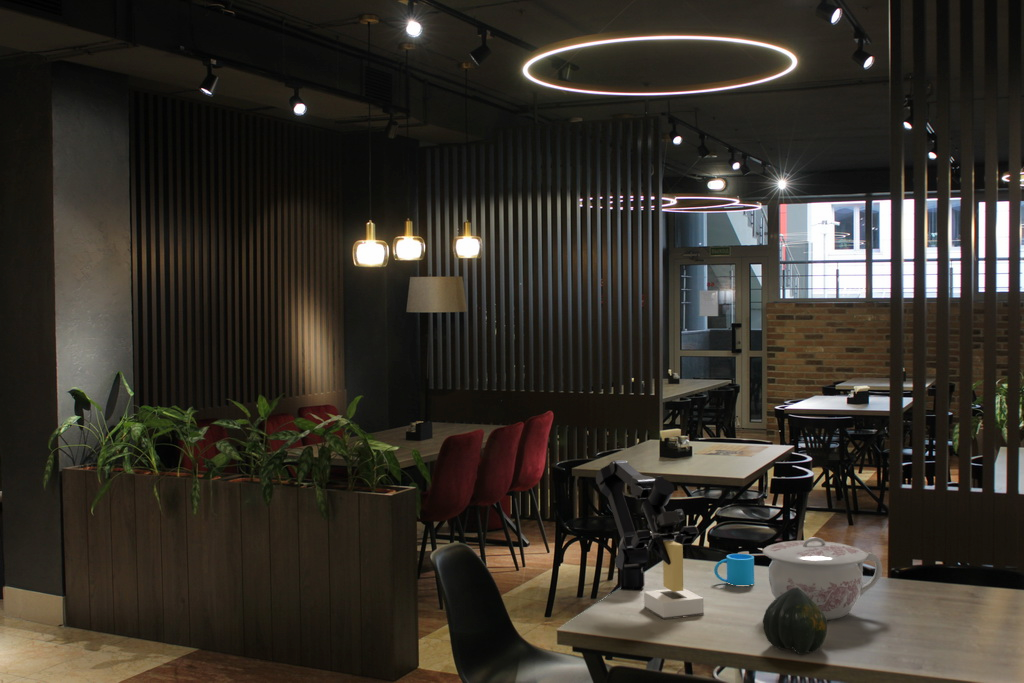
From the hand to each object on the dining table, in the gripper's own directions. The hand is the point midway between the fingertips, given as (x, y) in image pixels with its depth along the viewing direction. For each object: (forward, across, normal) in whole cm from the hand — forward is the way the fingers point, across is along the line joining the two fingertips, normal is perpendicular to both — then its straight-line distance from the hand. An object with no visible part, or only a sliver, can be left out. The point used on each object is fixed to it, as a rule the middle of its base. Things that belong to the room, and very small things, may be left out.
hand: (675, 563), depth 276 cm
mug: (-5, +31, +25) cm, 40 cm away
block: (+4, 0, +6) cm, 7 cm away
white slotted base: (+9, 0, +10) cm, 14 cm away
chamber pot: (+20, +35, -1) cm, 40 cm away
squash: (+36, +13, -17) cm, 42 cm away
